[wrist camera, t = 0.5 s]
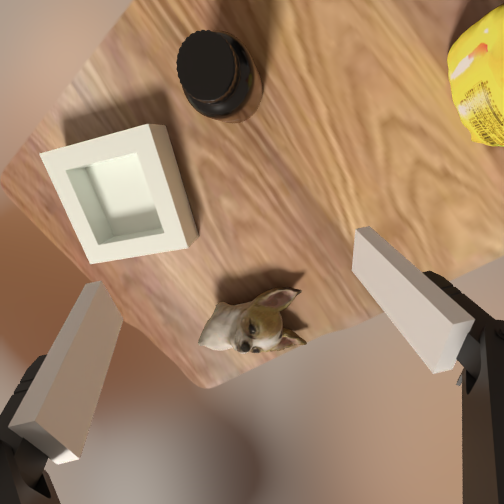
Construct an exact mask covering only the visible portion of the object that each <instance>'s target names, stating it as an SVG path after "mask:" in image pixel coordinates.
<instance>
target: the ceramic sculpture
mask: <svg viewBox="0 0 504 504" xmlns="http://www.w3.org/2000/svg"><path fill="white" fill-rule="evenodd" d="M301 292H302V290H298V289H294V288H288V287H282V288H280V287H278V288H274V289H271V290H268V291H266V292H264V293H262V294H260V295H259V296H257V297H256V298H255V299H254V300H253V301H251V302H247V303H243V304H237V305H230V304H227V303H225V302H219V303H218V304H217V305H216V308H215V310H214V313H213V315H212V316H211V318H210V319H209V320H208V321H207V323H206V325H205V327H204V329H203V331H202V333H201V336H200V338H199V342H198V344H199V345H200V346H206V347H208V348H210V349H212V350H226V349H229V348H233V349H234V350H236V351H238V352H239V353H241V354H245V353H247V352H252V353H260V352H269V351H276V350H277V351H280V350H284V349H285V348H288V347H291V346H293V345H306V344H307V343H306V341H305V340H303V339H302V338H301V337H299V336H298V335H297V334H296V333H295V332H293V331H292V330H290V329H287V328H285V329H283V320H282V317H281V315H280V313H279V311H282V310H284V309H285V308H287V307H288V306H289V305H290V303H291V302H292V301H293V299H294V298H295V297H296V296H297V295H298V294H300V293H301Z"/></svg>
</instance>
